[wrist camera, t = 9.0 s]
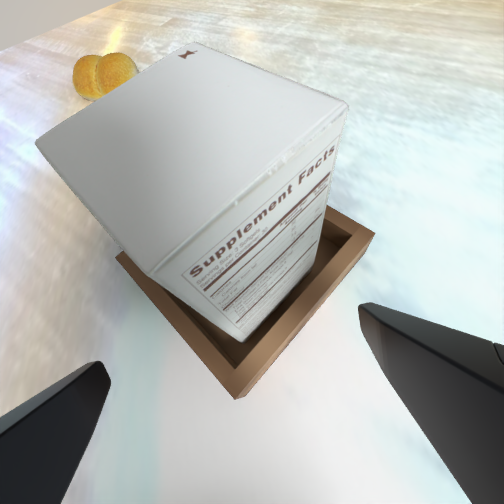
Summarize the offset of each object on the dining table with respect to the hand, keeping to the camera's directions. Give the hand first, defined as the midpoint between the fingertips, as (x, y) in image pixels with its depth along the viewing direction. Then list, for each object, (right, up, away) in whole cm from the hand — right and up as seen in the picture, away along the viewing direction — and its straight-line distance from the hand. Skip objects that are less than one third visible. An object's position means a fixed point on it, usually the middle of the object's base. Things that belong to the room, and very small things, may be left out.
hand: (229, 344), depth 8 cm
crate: (0, +2, +11) cm, 12 cm away
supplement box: (0, +1, +10) cm, 10 cm away
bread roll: (-20, +27, +28) cm, 44 cm away
